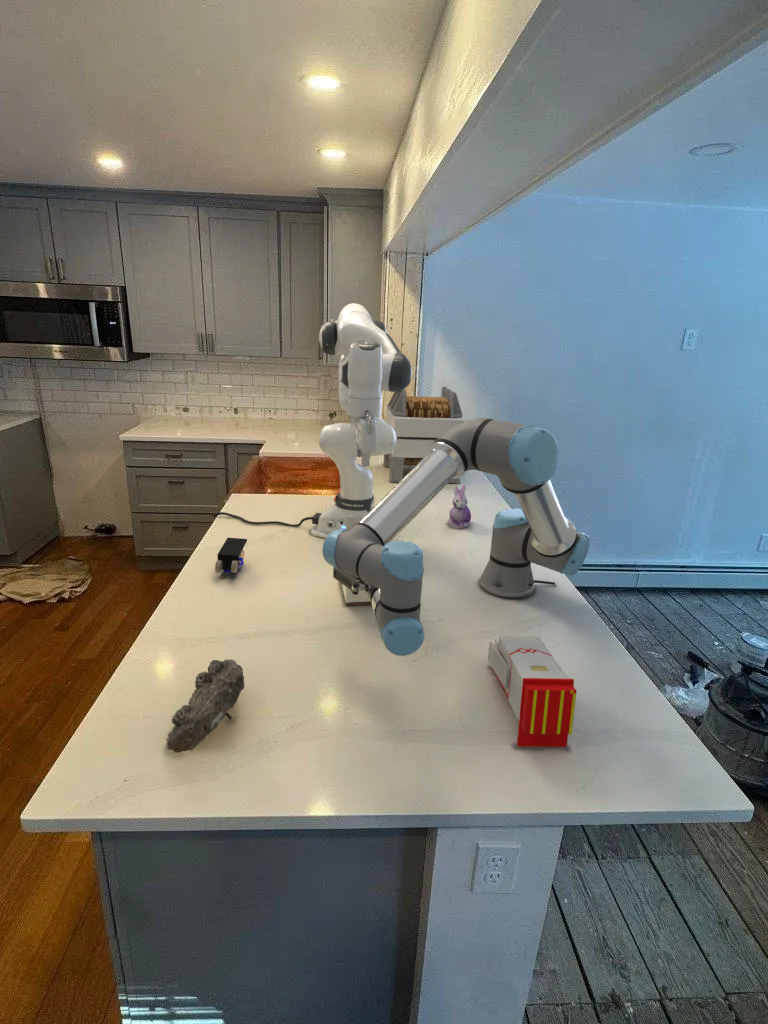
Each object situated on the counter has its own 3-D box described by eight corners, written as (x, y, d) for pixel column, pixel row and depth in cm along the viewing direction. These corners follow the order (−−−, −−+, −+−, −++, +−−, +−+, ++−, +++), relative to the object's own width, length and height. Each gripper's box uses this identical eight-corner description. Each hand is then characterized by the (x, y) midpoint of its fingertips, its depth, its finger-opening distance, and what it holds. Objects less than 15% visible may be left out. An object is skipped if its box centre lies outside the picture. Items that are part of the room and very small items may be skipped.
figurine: (456, 530, 205) (460, 491, 199) (441, 521, 213) (444, 483, 208) (477, 527, 209) (481, 488, 204) (461, 518, 217) (465, 480, 212)
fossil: (192, 660, 117) (244, 628, 112) (224, 691, 120) (276, 661, 115) (142, 746, 98) (202, 712, 93) (182, 779, 101) (242, 748, 96)
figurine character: (238, 584, 162) (249, 557, 175) (236, 562, 158) (247, 536, 172) (215, 584, 161) (227, 556, 175) (212, 561, 158) (225, 535, 171)
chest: (340, 582, 163) (341, 552, 160) (373, 581, 165) (374, 551, 161) (345, 605, 150) (346, 573, 147) (381, 603, 152) (382, 572, 149)
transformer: (382, 463, 289) (386, 382, 275) (445, 464, 293) (451, 384, 279) (390, 482, 257) (394, 392, 243) (460, 483, 261) (468, 394, 247)
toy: (536, 619, 129) (586, 686, 99) (531, 673, 131) (578, 754, 102) (483, 618, 128) (517, 685, 99) (479, 672, 131) (511, 753, 102)
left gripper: (383, 415, 134) (381, 471, 139) (370, 401, 153) (368, 451, 158) (357, 415, 133) (355, 472, 138) (347, 401, 152) (346, 451, 157)
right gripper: (327, 619, 113) (320, 572, 133) (447, 612, 118) (423, 568, 137) (327, 585, 111) (320, 542, 130) (450, 580, 115) (425, 539, 135)
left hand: (362, 461), depth 148 cm, fingers open, 8 cm apart
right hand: (373, 555), depth 134 cm, fingers open, 13 cm apart
